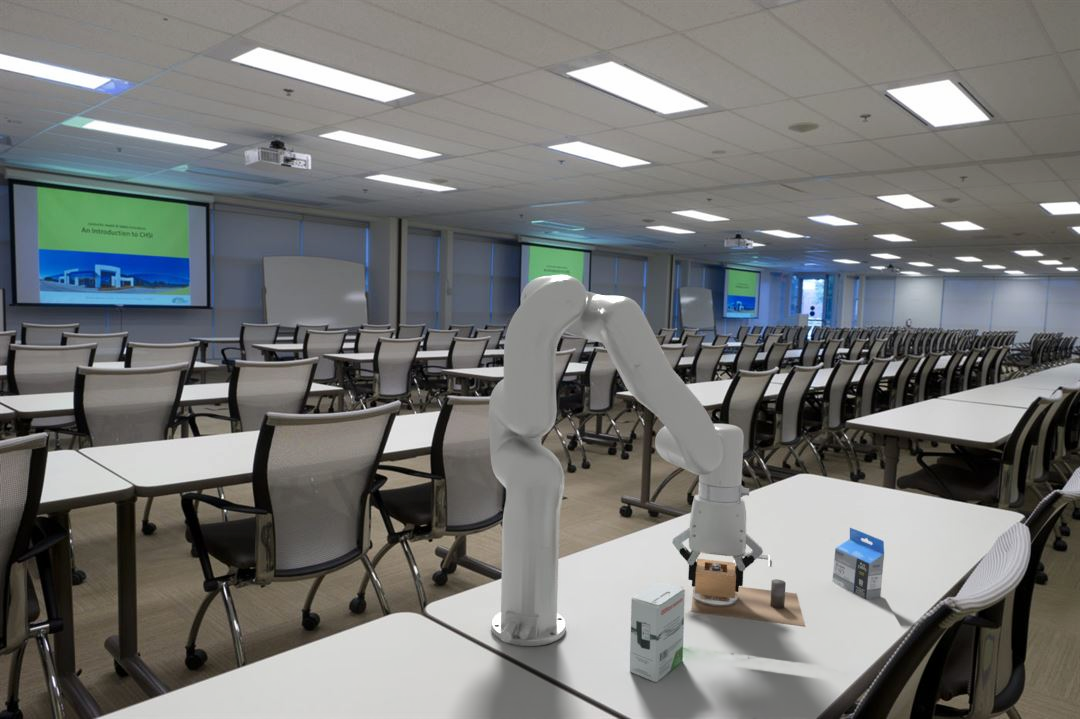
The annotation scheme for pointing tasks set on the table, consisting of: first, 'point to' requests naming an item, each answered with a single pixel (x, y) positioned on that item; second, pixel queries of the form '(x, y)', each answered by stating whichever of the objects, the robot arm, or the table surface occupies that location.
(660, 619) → the ink box
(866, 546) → the label tape box
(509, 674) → the table surface
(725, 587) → the wooden square washer
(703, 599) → the steel hub
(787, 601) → the walnut board
